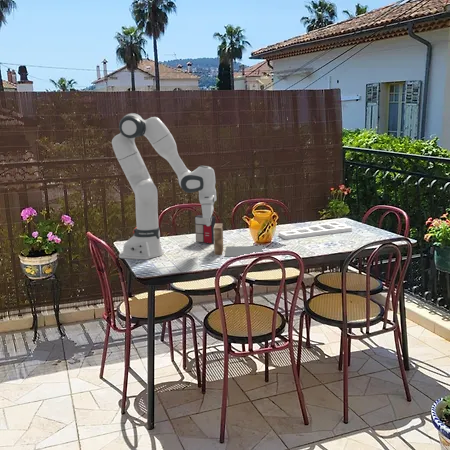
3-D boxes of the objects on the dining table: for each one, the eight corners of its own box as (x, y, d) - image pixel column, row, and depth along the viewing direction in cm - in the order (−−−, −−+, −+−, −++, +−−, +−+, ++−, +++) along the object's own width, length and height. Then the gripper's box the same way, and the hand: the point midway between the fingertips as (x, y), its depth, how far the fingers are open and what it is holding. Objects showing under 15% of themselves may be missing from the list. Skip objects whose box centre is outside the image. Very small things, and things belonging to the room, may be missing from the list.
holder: (285, 240, 268) (285, 235, 268) (271, 233, 285) (271, 228, 284) (352, 231, 283) (352, 227, 283) (335, 225, 300) (335, 221, 299)
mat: (224, 256, 238) (224, 256, 238) (226, 247, 255) (226, 246, 255) (266, 256, 237) (266, 255, 237) (265, 246, 254) (265, 246, 254)
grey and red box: (195, 242, 267) (194, 216, 263) (199, 240, 270) (198, 215, 267) (212, 244, 262) (211, 217, 258) (215, 242, 265) (214, 216, 262)
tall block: (214, 254, 242) (213, 228, 239) (215, 248, 252) (215, 223, 249) (222, 254, 241) (221, 228, 238) (223, 248, 252) (222, 223, 249)
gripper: (203, 194, 251) (205, 219, 254) (199, 201, 231) (201, 228, 234) (215, 193, 251) (216, 219, 254) (212, 200, 231) (213, 228, 234)
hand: (209, 223), depth 244 cm, fingers open, 8 cm apart
